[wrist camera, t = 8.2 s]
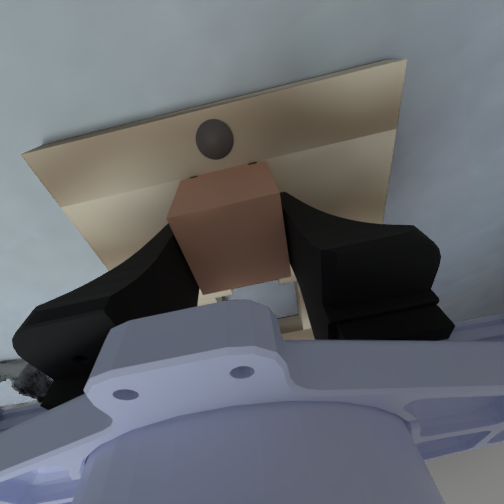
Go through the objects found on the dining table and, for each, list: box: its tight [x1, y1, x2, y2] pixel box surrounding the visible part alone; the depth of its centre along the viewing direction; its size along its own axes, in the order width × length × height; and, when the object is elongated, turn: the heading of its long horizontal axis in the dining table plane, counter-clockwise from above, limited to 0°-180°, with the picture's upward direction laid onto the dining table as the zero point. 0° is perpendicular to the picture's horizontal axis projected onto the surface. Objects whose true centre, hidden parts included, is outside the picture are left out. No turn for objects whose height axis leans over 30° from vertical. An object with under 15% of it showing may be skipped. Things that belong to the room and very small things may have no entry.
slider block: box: [166, 161, 291, 295], centre depth 12 cm, size 4×4×5 cm
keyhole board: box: [21, 59, 407, 340], centre depth 16 cm, size 18×16×2 cm
